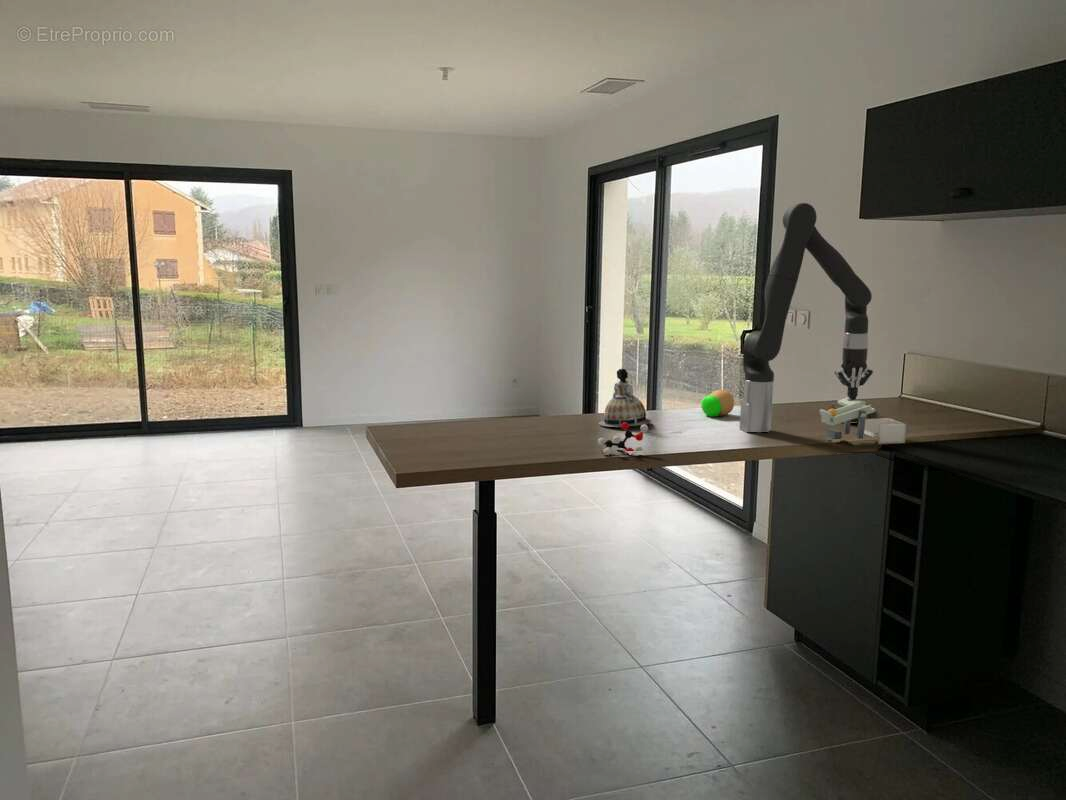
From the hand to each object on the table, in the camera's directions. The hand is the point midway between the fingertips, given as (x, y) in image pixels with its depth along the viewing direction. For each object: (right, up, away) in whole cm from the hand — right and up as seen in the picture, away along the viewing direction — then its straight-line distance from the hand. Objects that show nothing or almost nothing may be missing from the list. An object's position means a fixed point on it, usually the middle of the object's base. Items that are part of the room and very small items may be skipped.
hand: (852, 398), depth 262 cm
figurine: (-74, -9, +11) cm, 76 cm away
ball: (-11, -5, -12) cm, 18 cm away
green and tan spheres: (-39, -6, +27) cm, 48 cm away
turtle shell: (+9, -8, +19) cm, 23 cm away
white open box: (+6, -13, -9) cm, 17 cm away
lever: (-6, -5, -6) cm, 9 cm away
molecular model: (-79, -17, -26) cm, 85 cm away
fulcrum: (-6, -14, -10) cm, 18 cm away
